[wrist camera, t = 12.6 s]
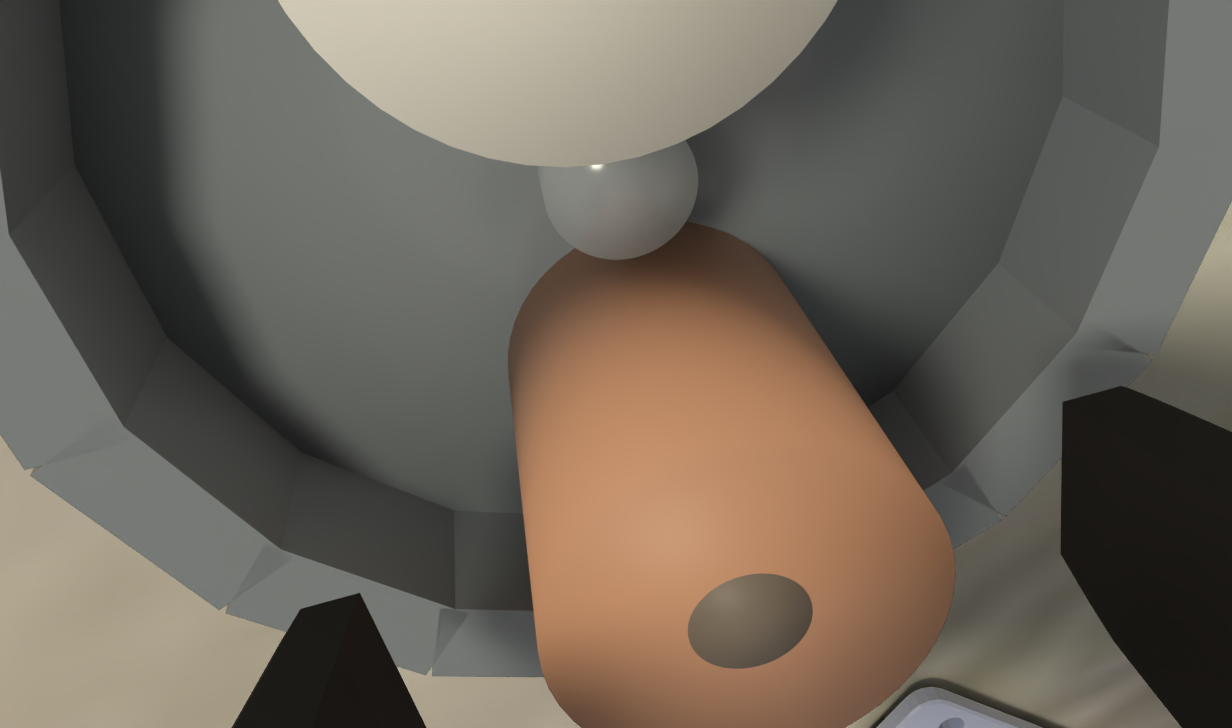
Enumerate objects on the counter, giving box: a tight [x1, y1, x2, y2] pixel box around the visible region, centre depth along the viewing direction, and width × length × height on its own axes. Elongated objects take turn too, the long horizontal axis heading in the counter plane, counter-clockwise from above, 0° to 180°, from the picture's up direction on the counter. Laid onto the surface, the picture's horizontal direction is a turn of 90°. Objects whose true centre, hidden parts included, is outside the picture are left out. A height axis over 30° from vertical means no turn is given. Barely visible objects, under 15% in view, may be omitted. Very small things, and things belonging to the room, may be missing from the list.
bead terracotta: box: [508, 222, 955, 728], centre depth 12 cm, size 4×4×5 cm
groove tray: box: [0, 0, 1232, 677], centre depth 11 cm, size 14×14×3 cm
